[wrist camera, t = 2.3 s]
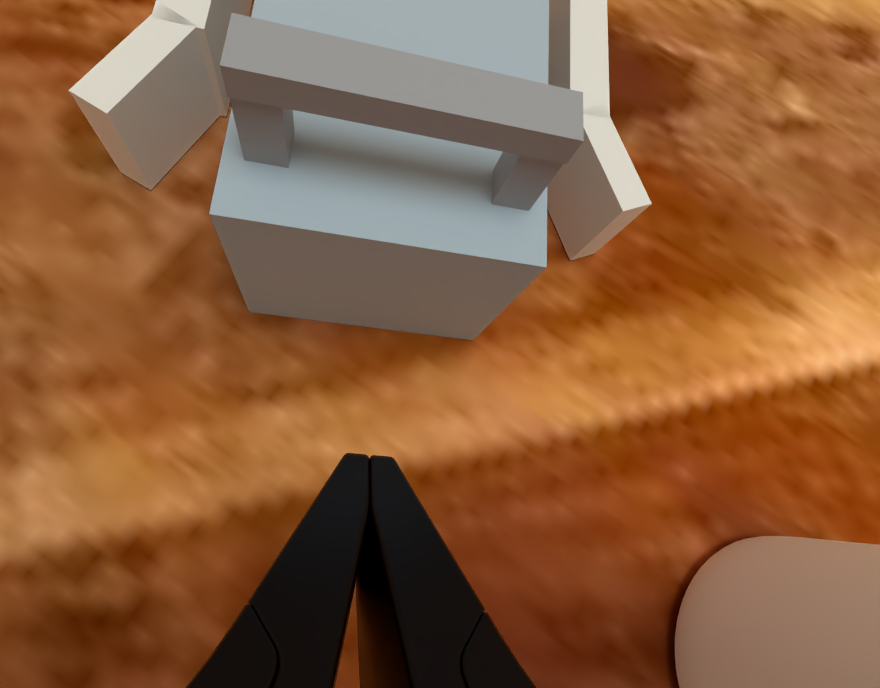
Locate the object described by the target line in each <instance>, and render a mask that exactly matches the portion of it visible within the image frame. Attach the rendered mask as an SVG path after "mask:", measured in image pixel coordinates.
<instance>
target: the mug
mask: <svg viewBox="0 0 880 688" xmlns="http://www.w3.org/2000/svg"><path fill="white" fill-rule="evenodd" d="M675 664H676V673H677V678H678V684H679V688H880V545H876V544H865V543H855V542H845V541H835V540H824V539H814V538H804V537H791V536H760V537H753V538H746V539H743V540H740V541H736V542H734V543H732V544H730V545H728V546H726V547H724V548H722V549H721V550H719V551H718V552H717V553H715V554H714V555H713V556H711V557H710V558H709V559H708V560H707V561H706V562H705V563H704V564H703V565H702V566H701V567H700V569H699V570H698V572H697V573H696V574H695V576H694V577H693V579H692V581H691V582H690V584H689V586H688V588H687V590H686V592H685V595H684V598H683V600H682V603H681V606H680V610H679V614H678V618H677V624H676V632H675Z"/></svg>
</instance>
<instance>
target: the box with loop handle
mask: <svg viewBox="0 0 880 688" xmlns="http://www.w3.org/2000/svg"><path fill="white" fill-rule="evenodd" d="M548 60H549V0H255V1H254V6H253V10H252V15H251V17H249V16H244V15H240V14H236V13H231V17H230V22H229V26H228V31H227V35H226V39H225V44H224V48H223V53H222V57H221V61H220V69H221V73H222V77H223V81H224V85H225V90H226V94H227V97H229V98H230V102H231V107H232V109H231V114H230V118H229V123H228V128H227V132H226V137H225V142H224V146H223V151H222V156H221V161H220V165H219V170H218V175H217V179H216V184H215V189H214V193H213V198H212V203H211V207H210V212H209V215H210V217H211V220H212V222H213V225H214V227H215V230H216V232H217V235H218V237H219V240H220V242H221V244H222V247H223V249H224V252H225V254H226V257H227V259H228V262H229V264H230V266H231V269H232V271H233V274H234V276H235V279H236V281H237V284H238V286H239V289H240V291H241V293H242V296H243V298H244V301H245V303H246V306H247V308H248V311H249V312H253V313H261V314H269V315H276V316H284V317H292V318H300V319H308V320H316V321H324V322H332V323H340V324H347V325H355V326H363V327H371V328H379V329H387V330H395V331H403V332H411V333H418V334H426V335H434V336H442V337H450V338H458V339H466V340H474V339H475V338H476V337H477V336H478V335H479V334H480V333H481V332H482V331H483V330H484V329H485V328H486V327H487V326H488V325H489V324H490V323H491V322H492V321H493V320H494V319H495V318H496V317H497V316H498V315H499V314H500V313H501V312H502V311H503V310H504V309H505V308H506V307H507V306H508V305H509V304H510V303H511V302H512V301H513V300H514V299H515V298H516V297H517V296H518V295H519V294H520V293H521V292H522V291H523V290H524V289H525V288H526V287H527V286H528V285H529V284H530V283H531V282H532V281H533V280H534V279H535V278H536V277H537V276H538V275H539V274H540V273H541V272H542V271H543V270H544V269H545V268H546V267H547V186H548V184H549V183H550V182H551V180H552V179H553V178H554V176H555V175H556V174H557V172H558V171H559V169H560V168H561V167H562V165H563V164H567V163H568V161H569V160H570V159H571V157H572V156H573V155H574V153H575V152H576V151H577V149H578V148H579V147H580V145H581V144H582V143H583V141H584V130H583V92H579V91H575V90H571V89H566V88H562V87H557V86H553V85H549V84H548Z"/></svg>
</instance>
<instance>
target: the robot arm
mask: <svg viewBox="0 0 880 688" xmlns="http://www.w3.org/2000/svg"><path fill="white" fill-rule="evenodd" d="M355 583H356V610H357V632H358V654H359V676H360V688H536V686H535V685H534V683H533V682H532V681H531V679H530V678H529V677H528V675H527V674H526V672H525V671H524V670H523V668H522V667H521V665H520V664H519V663H518V661H517V659H516V658H515V656H514V655H513V653H512V652H511V650H510V649H509V647H508V645H507V644H506V642H505V641H504V639H503V638H502V636H501V634H500V633H499V631H498V630H497V628H496V626H495V625H494V623H493V621H492V620H491V618H490V616H489V614H488V613H486V612H485V613H484V611H485V609H484V607H483V605H482V603H481V602H480V600H479V598H478V597H477V595H476V593H475V592H474V590H473V588H472V587H471V585H470V583H469V582H468V580H467V578H466V577H465V575H464V573H463V572H462V570H461V569H460V567H459V565H458V564H457V562H456V560H455V559H454V557H453V555H452V554H451V552H450V550H449V549H448V547H447V545H446V544H445V542H444V540H443V539H442V537H441V535H440V534H439V532H438V530H437V529H436V527H435V526H434V524H433V522H432V521H431V519H430V517H429V516H428V514H427V512H426V511H425V509H424V507H423V506H422V504H421V502H420V501H419V499H418V497H417V496H416V494H415V492H414V491H413V489H412V487H411V486H410V484H409V482H408V481H407V479H406V478H405V476H404V474H403V473H402V471H401V469H400V468H399V466H398V464H397V463H396V461H395V459H394V458H392V457H387V456H376V455H373V456H371V457H370V458H369V457H368V456H367V455H364V454H353V453H347V454H345V455H344V456H343V458H342V459H341V461H340V462H339V464H338V465H337V467H336V468H335V470H334V471H333V473H332V474H331V476H330V477H329V479H328V480H327V482H326V483H325V485H324V486H323V488H322V489H321V491H320V493H319V494H318V496H317V497H316V499H315V500H314V502H313V503H312V505H311V506H310V508H309V509H308V511H307V512H306V514H305V515H304V517H303V518H302V520H301V521H300V523H299V524H298V526H297V528H296V529H295V531H294V532H293V534H292V535H291V537H290V538H289V540H288V541H287V543H286V544H285V546H284V547H283V549H282V550H281V552H280V553H279V555H278V556H277V558H276V559H275V561H274V562H273V564H272V566H271V567H270V569H269V570H268V572H267V573H266V575H265V576H264V578H263V579H262V581H261V582H260V584H259V585H258V587H257V588H256V590H255V591H254V593H253V594H252V596H251V597H250V599H249V601H248V604H247V605H245V606H244V608H243V609H242V611H241V612H240V614H239V615H238V617H237V618H236V620H235V621H234V623H233V624H232V626H231V627H230V629H229V630H228V632H227V633H226V634H225V636H224V637H223V639H222V640H221V642H220V643H219V644H218V646H217V647H216V649H215V650H214V651H213V653H212V654H211V656H210V657H209V659H208V660H207V661H206V663H205V664H204V665H203V666H202V668H201V669H200V670H199V671H198V673H197V674H196V675H195V676H194V678H193V679H192V680H191V682H190V683H189V684H188V685H187V687H186V688H335V683H336V678H337V673H338V668H339V663H340V658H341V653H342V648H343V643H344V638H345V633H346V628H347V623H348V618H349V613H350V608H351V603H352V598H353V593H354V588H355Z"/></svg>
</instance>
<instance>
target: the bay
mask: <svg viewBox="0 0 880 688" xmlns="http://www.w3.org/2000/svg"><path fill="white" fill-rule="evenodd" d="M252 1H253V0H156V3H155V6H154V9H153V13H152V14H151V15H150V16H149V17H148V18H147V19H146V20H145V21H144V22H143V23H142V24H141V25H139V26H138V27H137V28H136V29H135V30H134V31H133V32H132V33H131V34H130V35H129V36H127V37H126V38H125V39H124V40H123V41H122V42H121V43H120V44H119V45H118V46H117V47H115V48H114V49H113V50H112V51H111V52H110V53H109V54H108V55H107V56H106V57H105V58H103V59H102V60H101V61H100V62H99V63H98V64H97V65H96V66H95V67H94V68H93V69H91V70H90V71H89V72H88V73H87V74H86V75H85V76H84V77H83V78H82V79H81V80H79V81H78V82H77V83H76V84H75V85H74V86H73V87H72V88H71V89H70V90H69V92H70V93H71V95H72V96H73V98H74V99H75V101H76V103H77V104H78V106H79V107H80V109H81V110H82V112H83V114H84V115H85V117H86V118H87V120H88V122H89V123H90V125H91V126H92V128H93V129H94V131H95V133H96V134H97V136H98V137H99V139H100V140H101V142H102V144H103V145H104V147H105V148H106V150H107V151H108V153H109V155H110V156H111V158H112V159H113V161H114V163H115V164H116V166H117V167H118V169H119V170H120V172H121V173H123V174H124V175H126V176H128V177H129V178H131V179H133V180H134V181H136V182H137V183H139V184H141V185H142V186H144V187H146V188H147V189H149V190H152V189H153V188H154V187H155V186H156V185H157V183H158V182H159V181H160V180H161V179H162V178H163V177H164V176H165V175H166V174H167V173H168V171H169V170H170V169H171V168H172V167H173V166H174V165H175V164H176V163H177V162H178V161H179V160H180V158H181V157H182V156H183V155H184V154H185V153H186V152H187V151H188V150H189V149H190V148H191V147H192V145H193V144H194V143H195V142H196V141H197V140H198V139H199V138H200V137H201V136H202V135H203V133H204V132H205V131H206V130H207V129H208V128H209V127H210V126H211V125H212V124H213V123H214V122H215V120H216V119H217V118H218V117H219V116H225V117H227V113H228V109H229V104H230V98H229V97H227V94H226V90H225V85H224V81H223V77H222V73H221V69H220V61H221V57H222V53H223V48H224V44H225V39H226V35H227V31H228V26H229V22H230V17H231V13H236V14H240V15H244V16H249V14H250V10H251V5H252ZM548 84H549V85H553V86H557V87H562V88H566V89H571V90H575V91H579V92H583V130H584V141H583V143H582V144H581V145H580V147H579V148H578V149H577V151H576V152H575V153H574V155H573V156H572V157H571V159H570V160H569V161H568V163H567V164H563V165H562V167H561V168H560V169H559V171H558V172H557V174H556V175H555V176H554V178H553V179H552V180H551V182H550V183H549V184H548V186H547V210H548V212H549V214H550V216H551V219H552V221H553V223H554V225H555V228H556V230H557V232H558V235H559V237H560V239H561V241H562V244H563V246H564V248H565V251H566V253H567V255H568V257H569V260H574V259H577V258H581V257H584V256H588V255H591V254H595V253H596V252H597V251H598V250H599V249H600V248H601V247H603V246H604V245H605V244H606V243H607V242H608V241H609V240H611V239H612V238H613V237H614V236H615V235H616V234H617V233H619V232H620V231H621V230H622V229H623V228H624V227H625V226H627V225H628V224H629V223H630V222H631V221H632V220H633V219H635V218H636V217H637V216H638V215H639V214H640V213H642V212H643V211H644V210H645V209H646V208H647V207H648V206H650V205H651V204H652V203H651V201H650V199H649V197H648V195H647V193H646V191H645V189H644V186H643V184H642V182H641V180H640V178H639V176H638V174H637V172H636V170H635V168H634V166H633V164H632V162H631V159H630V157H629V155H628V153H627V151H626V149H625V147H624V145H623V143H622V141H621V139H620V137H619V135H618V132H617V130H616V128H615V126H614V124H613V122H612V120H611V118H610V106H609V64H608V23H607V0H549V60H548Z"/></svg>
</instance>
